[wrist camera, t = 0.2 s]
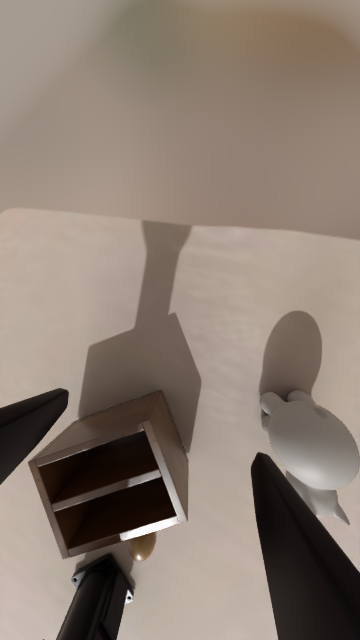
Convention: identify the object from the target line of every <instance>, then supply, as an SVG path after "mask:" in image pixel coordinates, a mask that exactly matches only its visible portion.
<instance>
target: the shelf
mask: <svg viewBox="0 0 360 640" xmlns="http://www.w3.org/2000/svg"><path fill="white" fill-rule="evenodd" d="M28 464H29V467H30V470H31V472H32V475H33V478H34V481H35V484H36V486H37V489H38V492H39V495H40V497H41V500H42V503H43V506H44V508H45V511H46V514H47V517H48V519H49V522H50V525H51V528H52V530H53V533H54V536H55V539H56V541H57V544H58V547H59V550H60V553H61V555H62V558H63V559H66V558H69V557H73V556H76V555H80V554H83V553H86V552H89V551H93V550H96V549H99V548H102V547H105V546H109V545H112V544H115V543H118V542H122V541H125V540H128V549H129V552H130V555H131V557H132V558H133V559H134V560H136V561H139V562H141V561H144V560H146V559H147V558H148V557H149V556H150V555H151V553H152V551H153V549H154V546H155V543H156V531H157V530H160V529H164V528H167V527H170V526H173V525H177V524H179V523H183V522H187V521H188V458H187V456H186V453H185V450H184V448H183V445H182V442H181V440H180V437H179V435H178V432H177V429H176V427H175V424H174V421H173V419H172V416H171V413H170V411H169V408H168V406H167V403H166V400H165V398H164V395H163V392H162V390H160V391H157V392H154V393H152V394H149V395H146V396H143V397H140V398H138V399H135V400H132V401H129V402H127V403H124V404H121V405H118V406H116V407H113V408H110V409H107V410H104V411H102V412H99V413H96V414H93V415H91V416H88V417H85V418H82V419H80V420H77V421H74V422H73V423H72V424H71V425H70V426H69V427H67V428H66V429H65V430H64V431H63V432H62V433H61V434H59V435H58V436H57V437H56V438H55V439H54V440H53V441H52V442H50V443H49V444H48V445H47V446H46V447H45V448H44V449H42V450H41V451H40V452H39V453H38V454H37V455H36V456H35V457H33V458H32V459H31V460H30V461H29V462H28Z"/></svg>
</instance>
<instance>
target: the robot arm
mask: <svg viewBox="0 0 360 640" xmlns="http://www.w3.org/2000/svg"><path fill="white" fill-rule="evenodd" d="M68 396H69V392H68V390H65V389H62V388H58V389H55V390H52V391H49V392H46V393H43V394H40V395H37V396H34V397H32V398H29V399H26V400H23V401H20V402H17V403H14V404H11V405H8V406H5V407H2V408H0V485H1V484H2V482H3V481H4V480H5V479H6V478H7V477H8V476H9V475H10V474H11V473H12V472H13V471H14V469H15V468H16V467H17V466H18V465H19V464H20V463H21V462H22V461H23V460H24V459H25V458H26V457H27V455H28V454H29V453H30V452H31V451H32V450H33V449H34V448H35V447H36V446H37V445H38V443H39V442H40V441H41V440H42V439H43V437H44V436H45V435H46V434H47V432H48V431H49V430H50V428H51V427H52V426H53V425H54V423H55V422H56V421H57V420H58V418H59V417H60V416H61V415H62V413H63V412H64V411H65V409H66V408H67V405H68ZM251 478H252V487H253V496H254V506H255V514H256V522H257V527H258V533H259V538H260V544H261V549H262V554H263V560H264V565H265V570H266V576H267V581H268V586H269V592H270V597H271V602H272V608H273V613H274V618H275V624H276V629H277V635H278V640H360V572H359V571H358V570H357V569H356V567H355V566H354V565H353V563H352V562H351V561H350V560H349V558H348V557H347V556H346V554H345V553H344V552H343V550H342V549H341V548H340V547H339V545H338V544H337V543H336V541H335V540H334V539H333V538H332V536H331V535H330V534H329V532H328V531H327V530H326V529H325V527H324V526H323V525H322V523H321V522H320V521H319V520H318V518H317V517H316V516H315V514H314V513H313V512H312V511H311V509H310V508H309V507H308V505H307V504H306V503H305V501H304V500H303V499H302V498H301V496H300V495H299V494H298V492H297V491H296V490H295V489H294V487H293V486H292V485H291V483H290V482H289V481H288V480H287V478H286V477H285V476H284V474H283V473H282V472H281V471H280V469H279V468H278V467H277V465H276V464H275V463H274V462H273V460H272V459H271V458H270V456H268V455H267V454H264V453H261V452H258V453H257V455H256V457H255V459H254V461H253V463H252V465H251ZM72 582H73V584H74V586H75V587H76V589H77V591H76V593H75V596H74V598H73V600H72V603H71V605H70V607H69V610H68V612H67V615H66V617H65V619H64V622H63V624H62V626H61V629H60V631H59V634H58V636H57V638H56V640H116V639H117V635H118V631H119V627H120V622H121V618H122V614H123V609H124V605H125V604H127V603H129V602H131V601H132V600H133V596H134V592H133V590H132V589H131V587H130V585H129V583H128V582H127V580H126V578H125V577H124V575H123V573H122V571H121V570H120V568H119V566H118V565H117V563H116V561H115V559H114V558H113V556H112V555H111V554H107V555H105V556H104V557H102V558H100V559H98V560H96V561H95V562H93V563H91V564H89V565H87V566H86V567H84V568H82V569H80V570H78V571H77V572H75V573H74V575H73V577H72ZM43 640H44V639H43Z"/></svg>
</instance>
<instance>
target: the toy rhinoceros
mask: <svg viewBox="0 0 360 640" xmlns="http://www.w3.org/2000/svg"><path fill="white" fill-rule="evenodd" d="M287 401H288V402H284V401H283V400H282V399H281V398H280V397H279V396H278V395H277V394H275V393H272V392H265V393H264V394H263V395H262V396H261V398H260V406H261V408H262V409H263V410H264V411H265V412H266V413H268V415H266V416H265V417H264V418H263V420H262V427H263V430H264V431H265V433H266V434H267V435H268V436H269V440H270V444H271V446H272V449H273V451H274V453H275V455H276V457H277V458H278V460H279V461H280V462H281V464H282V465H283V466H284V467H285V468H286V469H287V470H286V478H287V480H288V481H289V482H290V483H291V485H292V486H293V487H294V489H295V490H296V491H297V492H298V494H299V495H300V496H301V498H302V499H303V500H304V501H305V503H306V504H307V505H308V507H309V508H310V509H311V511H312V512H313V513H314V514H315V516H318V517H324V518H325V517H329V516H332V515H334V516H336V517H338V518H339V519H340V520H341V521H342V522H344V523H345V524H346V525H350V523H349V520H348V518H347V516H346V514H345V513H344V511H343V509H342V508H341V507H340V505H339V504H338V496H337V492H336V490H337V489H341V488H344V487H346V486H348V485H349V484H350V483H352V481H353V480H354V479H355V478H356V476H357V474H358V471H359V466H360V456H359V451H358V448H357V445H356V442H355V440H354V438H353V436H352V434H351V433H350V431H349V430H348V429H347V427H346V426H345V425H344V424H343V423H342V422H341V420H339V419H338V418H337V417H336V416H335V415H334V414H332V413H331V412H330V411H328V410H326V409H325V408H323V407H321V406H319V405H316V404H315V402H314V401H313V399H312V398H311V397H310V396H309V395H308V394H307V393H305V392H304V391H301V390H294V391H292V392H290V393H289V395H288V397H287Z"/></svg>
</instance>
